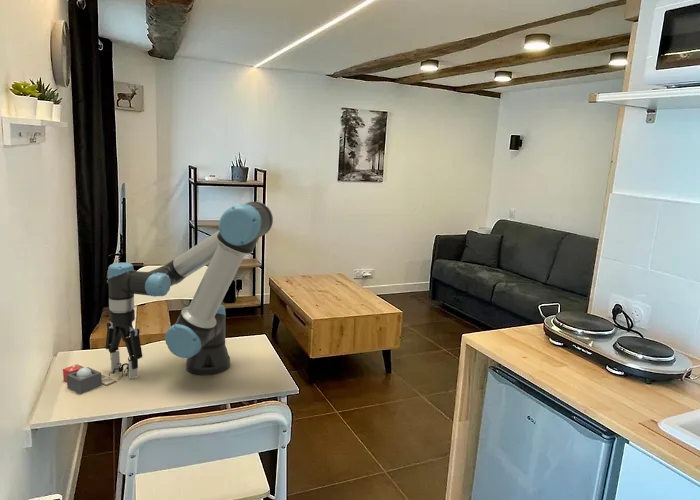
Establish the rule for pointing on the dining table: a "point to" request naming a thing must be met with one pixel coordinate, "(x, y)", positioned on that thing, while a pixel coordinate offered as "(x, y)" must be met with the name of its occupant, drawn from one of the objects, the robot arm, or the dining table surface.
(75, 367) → the red die
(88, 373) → the dome
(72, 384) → the dome housing
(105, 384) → the track strip
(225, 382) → the dining table surface
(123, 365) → the creature
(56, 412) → the dining table surface
